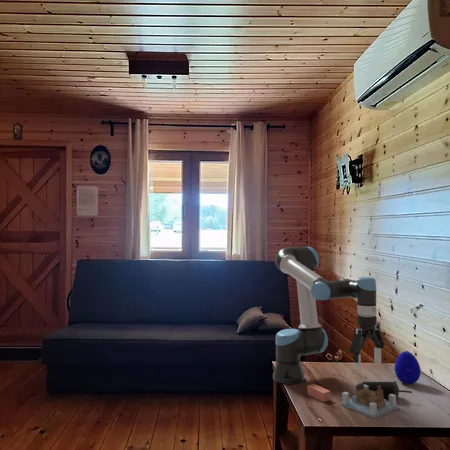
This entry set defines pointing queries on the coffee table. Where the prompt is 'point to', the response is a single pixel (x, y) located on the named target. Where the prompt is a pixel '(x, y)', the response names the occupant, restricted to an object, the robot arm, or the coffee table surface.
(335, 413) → the coffee table surface
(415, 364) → the ornament
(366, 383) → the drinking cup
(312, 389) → the red rectangular block
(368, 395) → the brown blocky piece
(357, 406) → the jig
